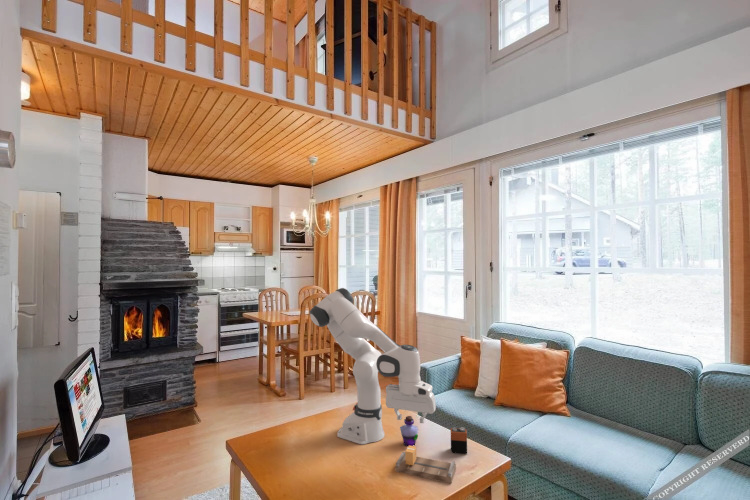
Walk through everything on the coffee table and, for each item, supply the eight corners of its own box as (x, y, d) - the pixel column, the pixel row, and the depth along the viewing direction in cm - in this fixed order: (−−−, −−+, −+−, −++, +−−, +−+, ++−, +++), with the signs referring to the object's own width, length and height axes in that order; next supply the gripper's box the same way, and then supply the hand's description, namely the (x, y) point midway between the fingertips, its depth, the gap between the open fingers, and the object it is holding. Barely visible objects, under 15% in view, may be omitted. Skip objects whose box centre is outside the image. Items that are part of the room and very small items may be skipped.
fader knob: (405, 464, 147) (405, 451, 147) (409, 457, 152) (408, 445, 152) (413, 465, 146) (412, 452, 146) (416, 459, 150) (416, 446, 151)
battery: (467, 454, 158) (466, 431, 158) (451, 453, 159) (450, 429, 159) (466, 449, 162) (466, 426, 162) (450, 448, 163) (450, 425, 163)
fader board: (395, 471, 146) (395, 463, 146) (402, 458, 155) (402, 450, 155) (451, 483, 138) (451, 474, 138) (455, 469, 147) (455, 460, 147)
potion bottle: (417, 449, 162) (416, 422, 162) (397, 447, 165) (397, 419, 165) (420, 440, 170) (420, 414, 171) (402, 438, 173) (401, 412, 173)
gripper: (383, 386, 150) (383, 420, 150) (432, 391, 143) (433, 428, 142) (388, 381, 156) (388, 414, 156) (436, 386, 149) (437, 421, 148)
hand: (410, 420), depth 149 cm, fingers open, 8 cm apart
